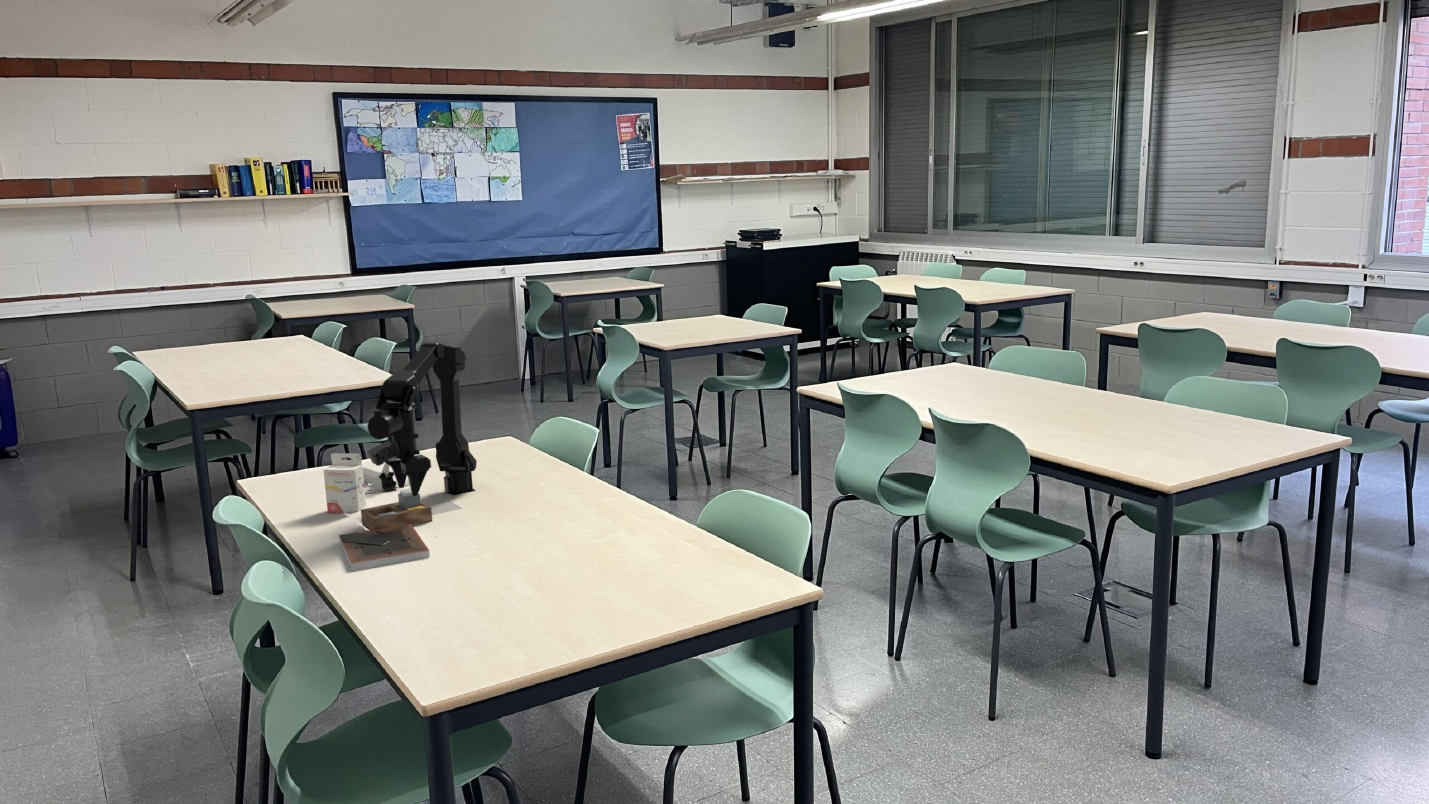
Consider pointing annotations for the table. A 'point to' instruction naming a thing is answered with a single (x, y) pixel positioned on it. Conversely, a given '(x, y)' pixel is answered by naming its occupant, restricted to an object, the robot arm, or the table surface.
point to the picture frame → (382, 546)
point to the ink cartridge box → (345, 484)
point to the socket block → (395, 516)
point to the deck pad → (444, 507)
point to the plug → (408, 499)
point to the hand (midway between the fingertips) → (408, 491)
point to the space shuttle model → (380, 480)
